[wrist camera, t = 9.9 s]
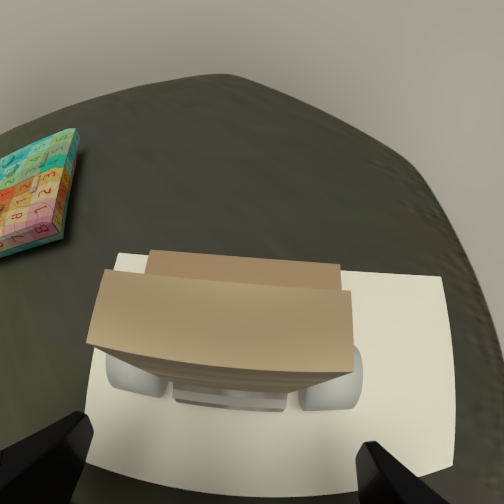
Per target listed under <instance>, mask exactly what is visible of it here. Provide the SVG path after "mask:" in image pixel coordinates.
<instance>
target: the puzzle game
mask: <svg viewBox="0 0 504 504" xmlns="http://www.w3.org/2000/svg"><path fill="white" fill-rule="evenodd" d="M79 140H80V136H79V133H78V131H77V129H76V128H72V129H66V130H63V131H61V132H58V133H56V134H53V135H51V136H48V137H46V138H44V139H41V140H39V141H37V142H35V143H32V144H30V145H28V146H26V147H24V148H22V149H20V150H18V151H16V152H13V153H11V154H10V155H8V156H6V157H4V158H2V159H0V258H2V257H5V256H8V255H11V254H14V253H17V252H20V251H23V250H27V249H30V248H33V247H36V246H40V245H43V244H46V243H50V242H53V241H57V240H60V239H63V234H64V226H65V219H66V213H67V207H68V201H69V195H70V190H71V185H72V180H73V175H74V171H75V167H76V158H77V148H78V144H79Z"/></svg>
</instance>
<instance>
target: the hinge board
mask: <svg viewBox="0 0 504 504" xmlns="http://www.w3.org/2000/svg"><path fill="white" fill-rule="evenodd" d="M114 270H116V271H124V272H133V273H142V274H151V275H160V276H170V277H179V278H189V279H200V280H210V281H221V282H233V283H245V284H257V285H270V286H284V287H298V288H313V289H330V290H348V291H351V299H352V316H353V338H354V372H352V373H349V374H346V375H343V376H341V377H338V378H335V379H332V380H329V381H326V382H323V383H320V384H317V385H314V386H311V387H308V388H305V389H301V390H298V391H294V392H291V393H288V396H287V406H286V409H284V411H283V412H260V411H245V410H233V409H223V408H214V407H206V406H198V405H191V404H185V403H179V402H176V401H175V398H172V393H173V382H170V381H168V380H165V379H163V378H160V377H158V376H155V375H153V374H151V373H148V372H146V371H144V370H141V369H139V368H137V367H134V366H132V365H130V364H128V363H126V362H124V361H121V360H119V359H117V358H115V357H113V356H111V355H109V354H107V353H105V352H103V351H101V350H99V349H97V348H94V353H93V359H92V365H91V370H90V377H89V383H88V390H87V398H86V406H85V414H87V415H88V416H89V419H90V421H91V424H92V426H93V429H94V435H93V438H92V442H91V445H90V448H89V452H88V455H87V458H86V462H87V463H90V464H92V465H95V466H98V467H101V468H103V469H106V470H109V471H112V472H115V473H119V474H122V475H125V476H129V477H132V478H136V479H139V480H143V481H147V482H151V483H155V484H160V485H164V486H169V487H174V488H179V489H185V490H191V491H197V492H205V493H212V494H222V495H233V496H248V497H302V496H317V495H328V494H337V493H345V492H352V491H358V485H357V474H356V464H355V458H356V455H357V453H358V451H359V449H360V447H361V445H362V444H363V443H364V442H367V441H377V442H378V443H379V444H380V445H381V446H382V447H384V448H385V449H386V450H387V451H388V452H389V453H390V454H391V455H393V456H394V457H395V458H396V459H397V460H398V461H399V462H401V463H402V464H403V465H404V466H405V467H406V468H408V469H409V470H410V471H411V472H412V473H413V474H415V475H416V476H417V477H420V476H423V475H426V474H430V473H433V472H436V471H439V470H442V469H444V468H447V467H450V466H452V464H453V453H454V439H455V377H454V362H453V351H452V342H451V333H450V326H449V319H448V312H447V306H446V301H445V295H444V290H443V285H442V280H441V277H437V276H419V275H402V274H386V273H370V272H355V271H340V264H327V263H314V262H300V261H287V260H274V259H261V258H248V257H235V256H222V255H210V254H197V253H185V252H172V251H160V250H150V253H149V256H148V255H136V254H125V253H118V257H117V260H116V263H115V267H114Z"/></svg>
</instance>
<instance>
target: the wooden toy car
mask: <svg viewBox="0 0 504 504" xmlns="http://www.w3.org/2000/svg"><path fill="white" fill-rule="evenodd" d="M86 343H87V344H89V345H91V346H93V347H95V348H97V349H99V350H101V351H103V352H105V353H107V354H109V355H111V356H113V357H115V358H117V359H119V360H121V361H124V362H126V363H128V364H130V365H132V366H134V367H137V368H139V369H141V370H144V371H146V372H148V373H151V374H153V375H155V376H158V377H160V378H163V379H165V380H168V381H170V382H173V393H172V398H175V401H176V402H179V403H185V404H191V405H198V406H206V407H214V408H223V409H233V410H245V411H260V412H283V411H284V409H286V406H287V396H288V393H291V392H294V391H298V390H301V389H305V388H308V387H311V386H314V385H317V384H320V383H323V382H326V381H329V380H332V379H335V378H338V377H341V376H343V375H346V374H349V373H352V372H354V338H353V316H352V299H351V291H348V290H330V289H313V288H298V287H284V286H270V285H257V284H245V283H233V282H221V281H210V280H200V279H189V278H179V277H170V276H160V275H151V274H142V273H133V272H124V271H116V270H108V269H105V271H104V274H103V278H102V281H101V285H100V288H99V292H98V296H97V299H96V303H95V307H94V311H93V315H92V319H91V323H90V327H89V332H88V336H87V341H86Z"/></svg>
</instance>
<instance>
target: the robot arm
mask: <svg viewBox="0 0 504 504" xmlns="http://www.w3.org/2000/svg"><path fill="white" fill-rule="evenodd" d="M93 435H94V429H93V426H92V424H91V421H90V419H89V416H88V415H87V414H85V413H82V412H80V411H75V412H73V413H71V414H70V415H68V416H66V417H64V418H62V419H61V420H59V421H57V422H55V423H53V424H51V425H50V426H48V427H46V428H44V429H42V430H40V431H38V432H36V433H34V434H32V435H31V436H29V437H27V438H25V439H23V440H21V441H19V442H17V443H15V444H13V445H11V446H9V447H7V448H5V449H3V450H1V451H0V504H69V502H70V500H71V497H72V495H73V492H74V490H75V487H76V485H77V483H78V480H79V478H80V475H81V473H82V471H83V468H84V465H85V462H86V458H87V455H88V452H89V448H90V445H91V442H92V438H93ZM355 464H356V474H357V485H358V495H359V501H360V504H450V503H449V502H448V501H446V500H445V499H444V498H442V497H441V496H440V495H439V494H437V493H436V492H435V491H434V490H433V489H431V488H430V487H429V486H428V485H426V484H425V483H424V482H423V481H422V480H420V479H419V478H418V477H417V476H416V475H415V474H413V473H412V472H411V471H410V470H409V469H408V468H406V467H405V466H404V465H403V464H402V463H401V462H399V461H398V460H397V459H396V458H395V457H394V456H393V455H391V454H390V453H389V452H388V451H387V450H386V449H385V448H384V447H382V446H381V445H380V444H379V443H378V442H377V441H367V442H364V443H363V444H362V445H361V447H360V449H359V451H358V453H357V455H356V458H355Z"/></svg>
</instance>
